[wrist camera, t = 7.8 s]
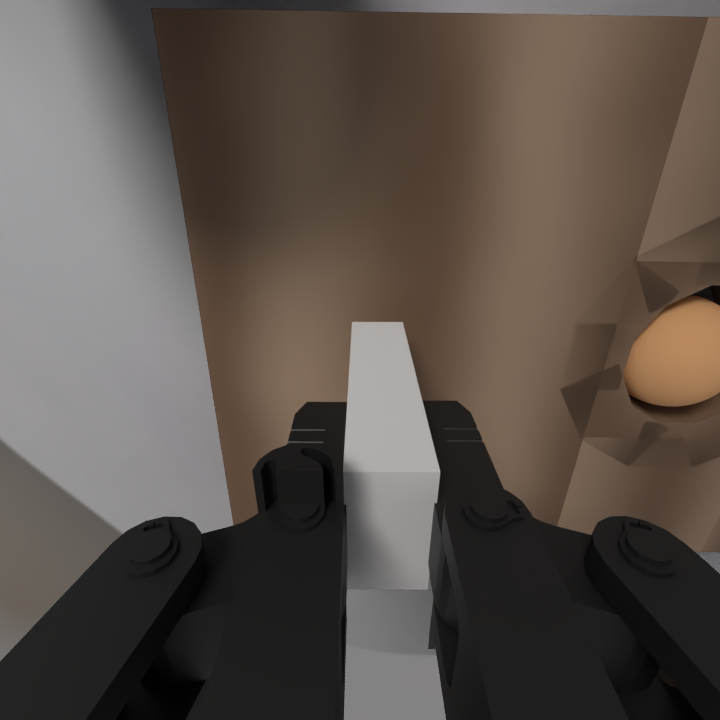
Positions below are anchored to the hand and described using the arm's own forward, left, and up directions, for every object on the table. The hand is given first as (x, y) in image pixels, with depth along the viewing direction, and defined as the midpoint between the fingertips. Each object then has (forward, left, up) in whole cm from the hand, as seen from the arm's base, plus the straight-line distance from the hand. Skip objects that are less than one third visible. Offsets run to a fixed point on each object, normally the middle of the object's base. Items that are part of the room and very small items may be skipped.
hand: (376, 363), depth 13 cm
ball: (0, +10, -2) cm, 11 cm away
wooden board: (0, +6, -4) cm, 7 cm away
